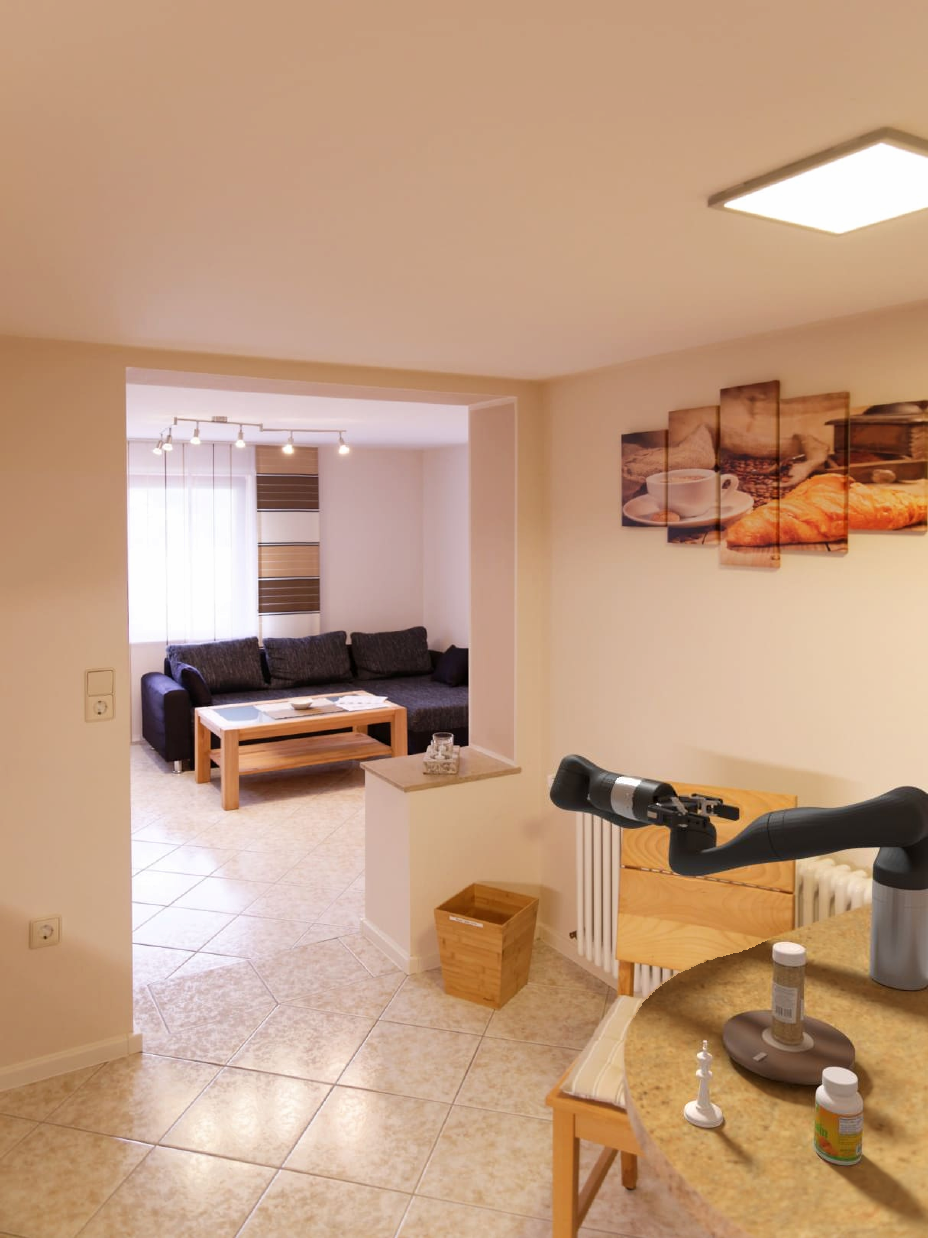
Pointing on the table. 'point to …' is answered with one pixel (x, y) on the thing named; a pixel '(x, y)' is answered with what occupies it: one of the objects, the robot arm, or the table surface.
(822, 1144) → the supplement bottle
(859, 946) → the table surface
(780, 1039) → the sprinkles bottle
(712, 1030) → the table surface
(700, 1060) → the chess piece
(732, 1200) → the table surface
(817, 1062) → the turntable platter
